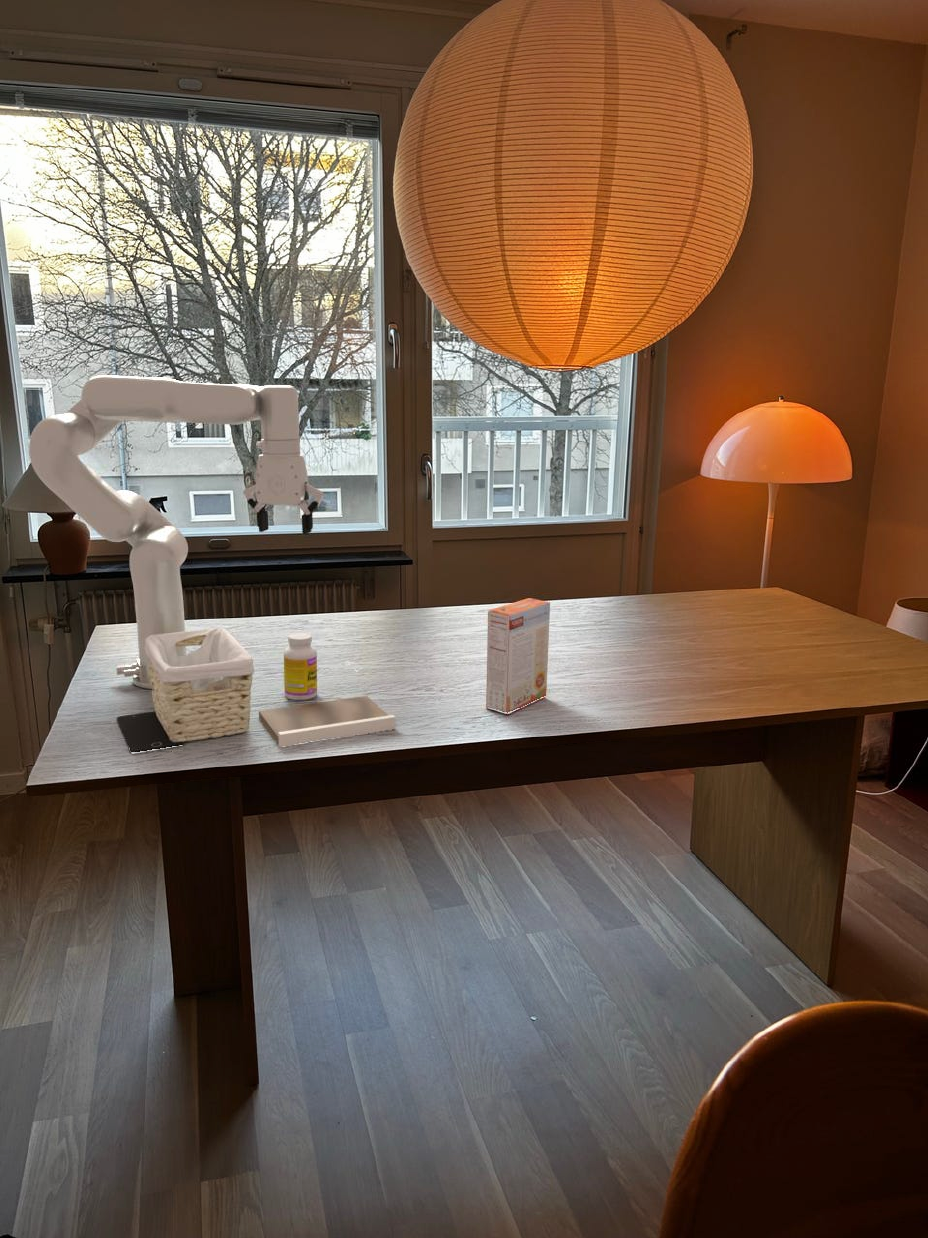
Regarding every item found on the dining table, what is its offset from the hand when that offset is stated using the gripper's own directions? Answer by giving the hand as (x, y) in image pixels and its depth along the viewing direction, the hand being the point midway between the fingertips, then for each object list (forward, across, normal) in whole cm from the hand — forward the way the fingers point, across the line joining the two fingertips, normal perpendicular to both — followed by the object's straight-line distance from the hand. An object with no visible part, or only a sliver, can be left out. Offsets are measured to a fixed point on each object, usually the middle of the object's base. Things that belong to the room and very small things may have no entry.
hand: (285, 531), depth 185 cm
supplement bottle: (+32, +6, -9) cm, 34 cm away
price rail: (+32, +21, -27) cm, 47 cm away
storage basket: (+32, -7, -26) cm, 42 cm away
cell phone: (+32, -13, -35) cm, 49 cm away
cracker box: (+34, +49, 0) cm, 60 cm away
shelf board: (+32, +16, -21) cm, 42 cm away
